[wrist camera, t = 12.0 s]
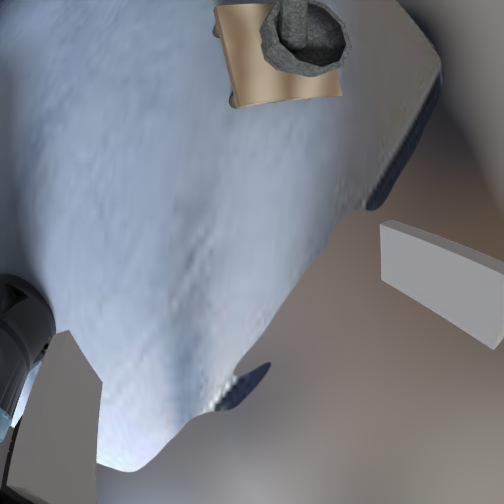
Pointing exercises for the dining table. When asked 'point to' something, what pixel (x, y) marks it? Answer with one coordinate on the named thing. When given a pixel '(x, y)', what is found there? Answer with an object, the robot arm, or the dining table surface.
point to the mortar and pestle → (304, 38)
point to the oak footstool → (261, 62)
